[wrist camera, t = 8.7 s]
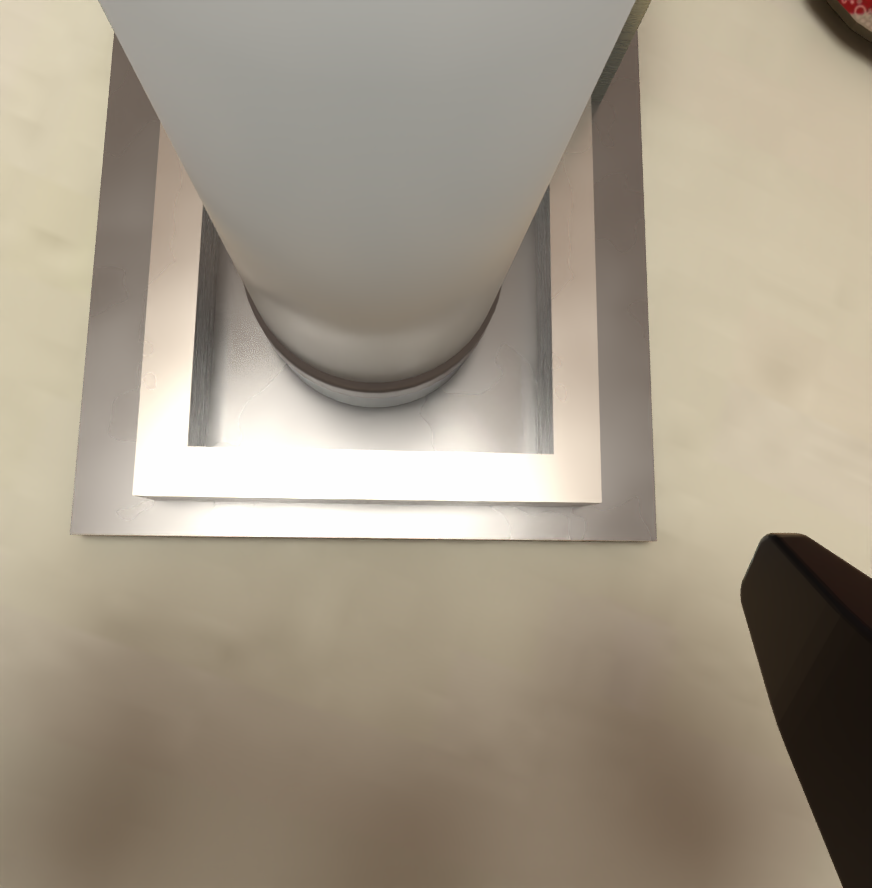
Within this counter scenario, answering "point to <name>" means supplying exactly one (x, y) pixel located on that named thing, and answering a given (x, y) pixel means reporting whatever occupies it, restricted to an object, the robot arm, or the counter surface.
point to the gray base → (370, 428)
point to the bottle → (370, 161)
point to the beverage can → (855, 15)
